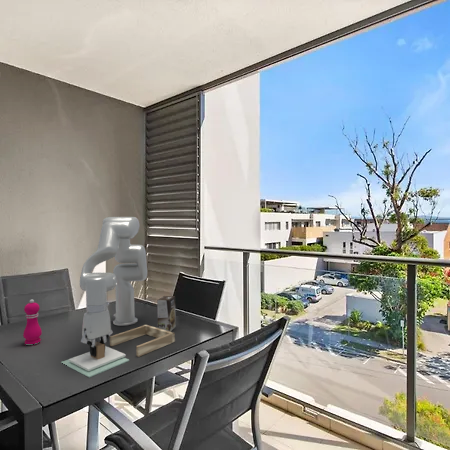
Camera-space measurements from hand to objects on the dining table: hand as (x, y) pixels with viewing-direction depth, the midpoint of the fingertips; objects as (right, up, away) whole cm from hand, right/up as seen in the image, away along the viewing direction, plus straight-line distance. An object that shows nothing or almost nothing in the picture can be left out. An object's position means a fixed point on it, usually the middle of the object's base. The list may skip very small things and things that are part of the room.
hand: (97, 353), depth 131 cm
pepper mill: (-37, -3, +19) cm, 42 cm away
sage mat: (-1, -3, -1) cm, 3 cm away
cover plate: (0, -2, 0) cm, 2 cm away
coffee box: (+21, -2, +36) cm, 41 cm away
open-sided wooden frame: (+13, -2, +17) cm, 22 cm away
